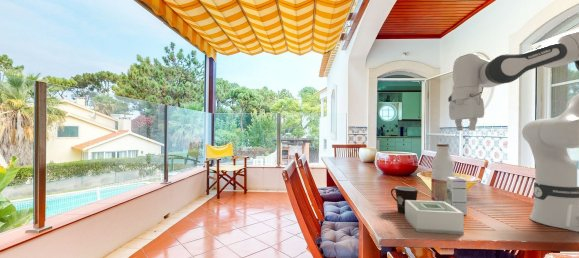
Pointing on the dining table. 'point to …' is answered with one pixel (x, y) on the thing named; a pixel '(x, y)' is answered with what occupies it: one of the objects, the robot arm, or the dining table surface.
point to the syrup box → (457, 193)
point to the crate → (434, 218)
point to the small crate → (430, 207)
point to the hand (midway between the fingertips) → (465, 130)
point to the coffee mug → (404, 196)
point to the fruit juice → (441, 173)
